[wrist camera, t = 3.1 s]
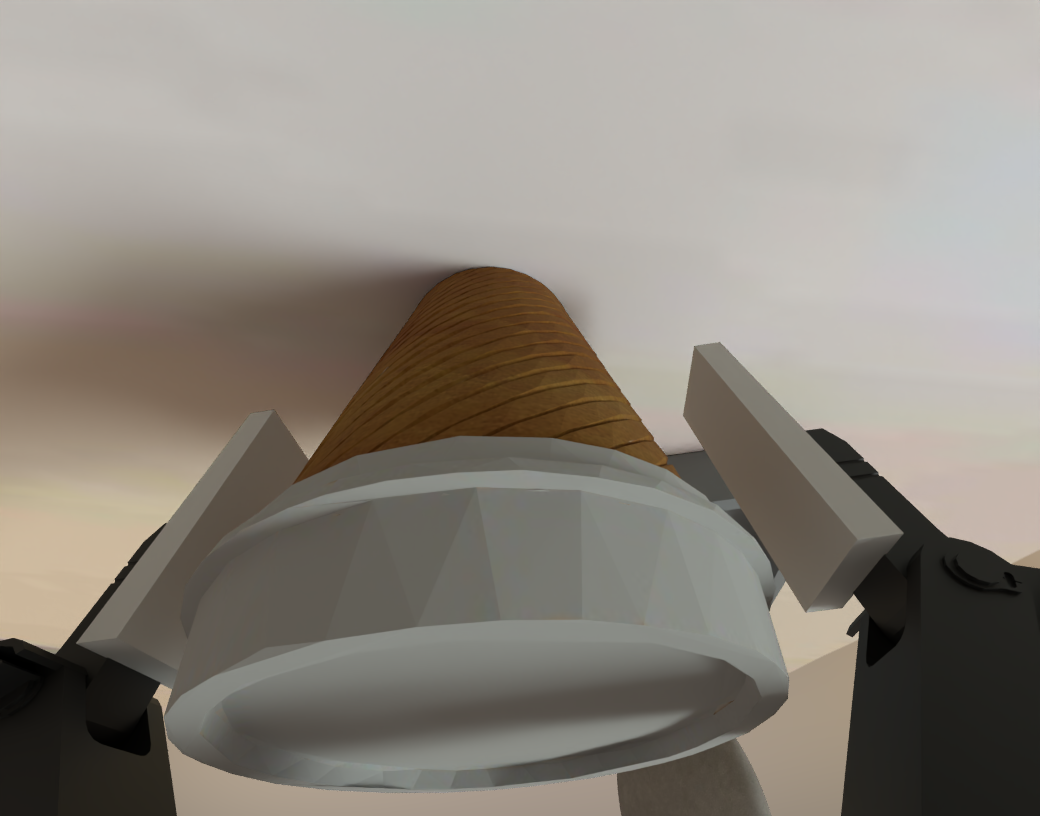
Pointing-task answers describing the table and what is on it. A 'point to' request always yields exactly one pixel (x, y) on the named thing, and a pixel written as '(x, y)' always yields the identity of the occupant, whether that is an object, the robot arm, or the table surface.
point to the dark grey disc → (695, 786)
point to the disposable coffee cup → (477, 580)
